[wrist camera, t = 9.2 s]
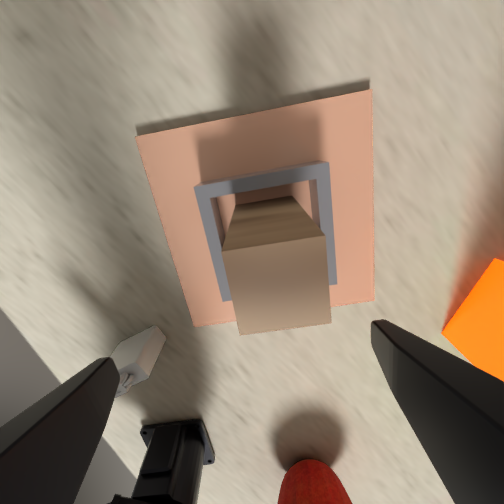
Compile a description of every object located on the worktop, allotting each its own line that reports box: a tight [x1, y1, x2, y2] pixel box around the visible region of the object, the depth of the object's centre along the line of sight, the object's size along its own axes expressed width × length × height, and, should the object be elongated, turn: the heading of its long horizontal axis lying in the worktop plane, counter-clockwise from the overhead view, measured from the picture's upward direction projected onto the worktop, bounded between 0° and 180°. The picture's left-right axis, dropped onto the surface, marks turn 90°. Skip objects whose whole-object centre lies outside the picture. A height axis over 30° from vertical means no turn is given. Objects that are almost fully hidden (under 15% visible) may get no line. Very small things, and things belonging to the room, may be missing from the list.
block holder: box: [135, 89, 375, 327], centre depth 18 cm, size 15×15×3 cm
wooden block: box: [221, 196, 332, 335], centre depth 15 cm, size 4×4×9 cm
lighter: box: [110, 325, 166, 398], centre depth 20 cm, size 7×2×8 cm, turn 119°
